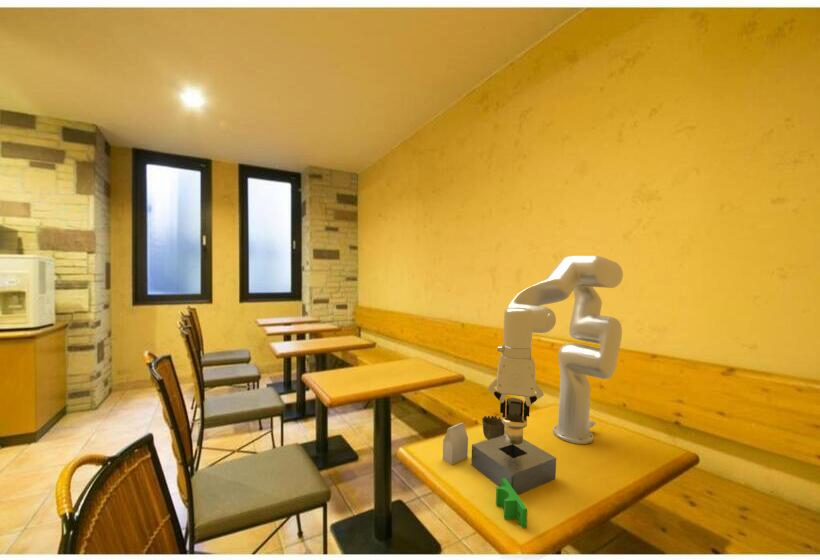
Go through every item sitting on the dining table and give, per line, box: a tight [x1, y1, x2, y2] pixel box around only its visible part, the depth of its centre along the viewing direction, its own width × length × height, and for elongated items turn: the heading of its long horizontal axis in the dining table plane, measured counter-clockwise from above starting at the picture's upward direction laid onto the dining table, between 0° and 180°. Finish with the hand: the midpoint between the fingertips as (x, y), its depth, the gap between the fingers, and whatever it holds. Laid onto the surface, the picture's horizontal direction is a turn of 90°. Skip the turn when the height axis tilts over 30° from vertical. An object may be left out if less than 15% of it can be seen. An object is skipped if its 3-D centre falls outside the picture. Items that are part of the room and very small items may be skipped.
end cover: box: [500, 397, 528, 445], centre depth 99 cm, size 7×7×11 cm
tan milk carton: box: [442, 422, 469, 466], centre depth 105 cm, size 4×7×10 cm, turn 130°
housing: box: [470, 435, 557, 496], centre depth 99 cm, size 16×16×6 cm
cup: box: [481, 415, 505, 440], centre depth 114 cm, size 8×7×8 cm
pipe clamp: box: [495, 478, 528, 529], centre depth 83 cm, size 11×4×5 cm, turn 9°
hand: (514, 416), depth 99 cm, fingers open, 5 cm apart
